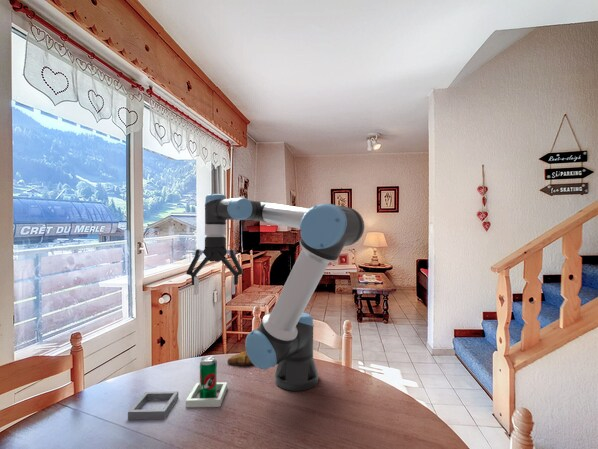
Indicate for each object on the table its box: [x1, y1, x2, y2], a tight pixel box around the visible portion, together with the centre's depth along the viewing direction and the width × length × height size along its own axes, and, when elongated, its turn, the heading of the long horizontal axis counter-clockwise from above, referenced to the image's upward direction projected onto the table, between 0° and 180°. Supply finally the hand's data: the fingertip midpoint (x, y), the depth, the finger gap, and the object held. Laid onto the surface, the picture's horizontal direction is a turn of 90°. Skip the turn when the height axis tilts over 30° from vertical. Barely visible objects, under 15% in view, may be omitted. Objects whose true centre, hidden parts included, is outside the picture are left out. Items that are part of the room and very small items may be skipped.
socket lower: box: [185, 381, 228, 408], centre depth 91 cm, size 10×10×2 cm
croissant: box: [227, 350, 255, 366], centre depth 114 cm, size 14×7×5 cm, turn 92°
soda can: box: [198, 355, 218, 398], centre depth 91 cm, size 5×5×12 cm
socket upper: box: [127, 391, 179, 420], centre depth 85 cm, size 10×10×2 cm
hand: (214, 293), depth 107 cm, fingers open, 13 cm apart
